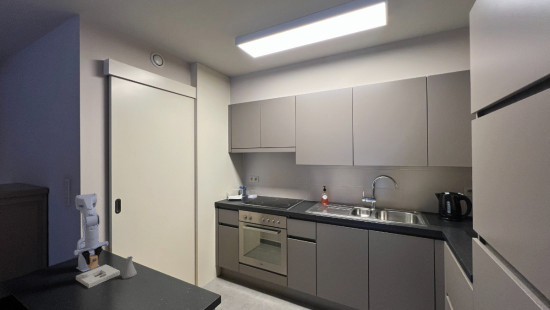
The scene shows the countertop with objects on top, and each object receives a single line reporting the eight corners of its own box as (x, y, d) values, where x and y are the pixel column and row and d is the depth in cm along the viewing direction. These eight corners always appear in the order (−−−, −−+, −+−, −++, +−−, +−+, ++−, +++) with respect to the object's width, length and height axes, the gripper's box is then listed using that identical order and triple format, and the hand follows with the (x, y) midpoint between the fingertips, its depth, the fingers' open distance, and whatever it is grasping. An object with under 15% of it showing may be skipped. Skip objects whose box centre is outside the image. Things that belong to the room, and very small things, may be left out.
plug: (87, 267, 116) (87, 256, 116) (94, 265, 119) (94, 254, 119) (91, 269, 114) (91, 258, 114) (98, 267, 117) (98, 256, 117)
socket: (75, 279, 116) (75, 275, 116) (106, 267, 129) (106, 263, 129) (88, 288, 109) (88, 283, 109) (119, 274, 121) (119, 270, 121)
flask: (124, 280, 115) (124, 262, 115) (119, 276, 119) (119, 258, 119) (139, 274, 120) (139, 256, 120) (134, 270, 125) (133, 253, 125)
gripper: (77, 244, 109) (77, 270, 109) (110, 234, 121) (111, 258, 121) (72, 241, 113) (72, 267, 112) (104, 232, 125) (105, 256, 125)
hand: (92, 262), depth 117 cm, fingers closed on plug, 3 cm apart
